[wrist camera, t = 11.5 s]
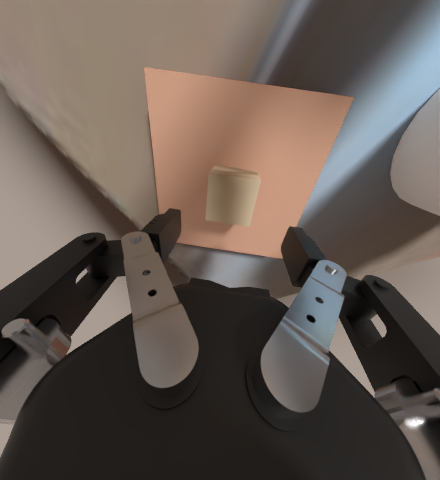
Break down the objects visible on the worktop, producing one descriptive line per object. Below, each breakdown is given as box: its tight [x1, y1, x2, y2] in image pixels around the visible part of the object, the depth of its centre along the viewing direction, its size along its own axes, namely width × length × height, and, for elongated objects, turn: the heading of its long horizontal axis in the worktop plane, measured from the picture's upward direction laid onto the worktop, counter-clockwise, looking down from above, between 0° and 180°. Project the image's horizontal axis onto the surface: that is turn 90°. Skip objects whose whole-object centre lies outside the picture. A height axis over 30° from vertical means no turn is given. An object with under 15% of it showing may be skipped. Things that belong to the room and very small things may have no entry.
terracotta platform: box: [144, 67, 354, 259], centre depth 22 cm, size 20×20×4 cm
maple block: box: [205, 165, 261, 227], centre depth 18 cm, size 5×5×5 cm
